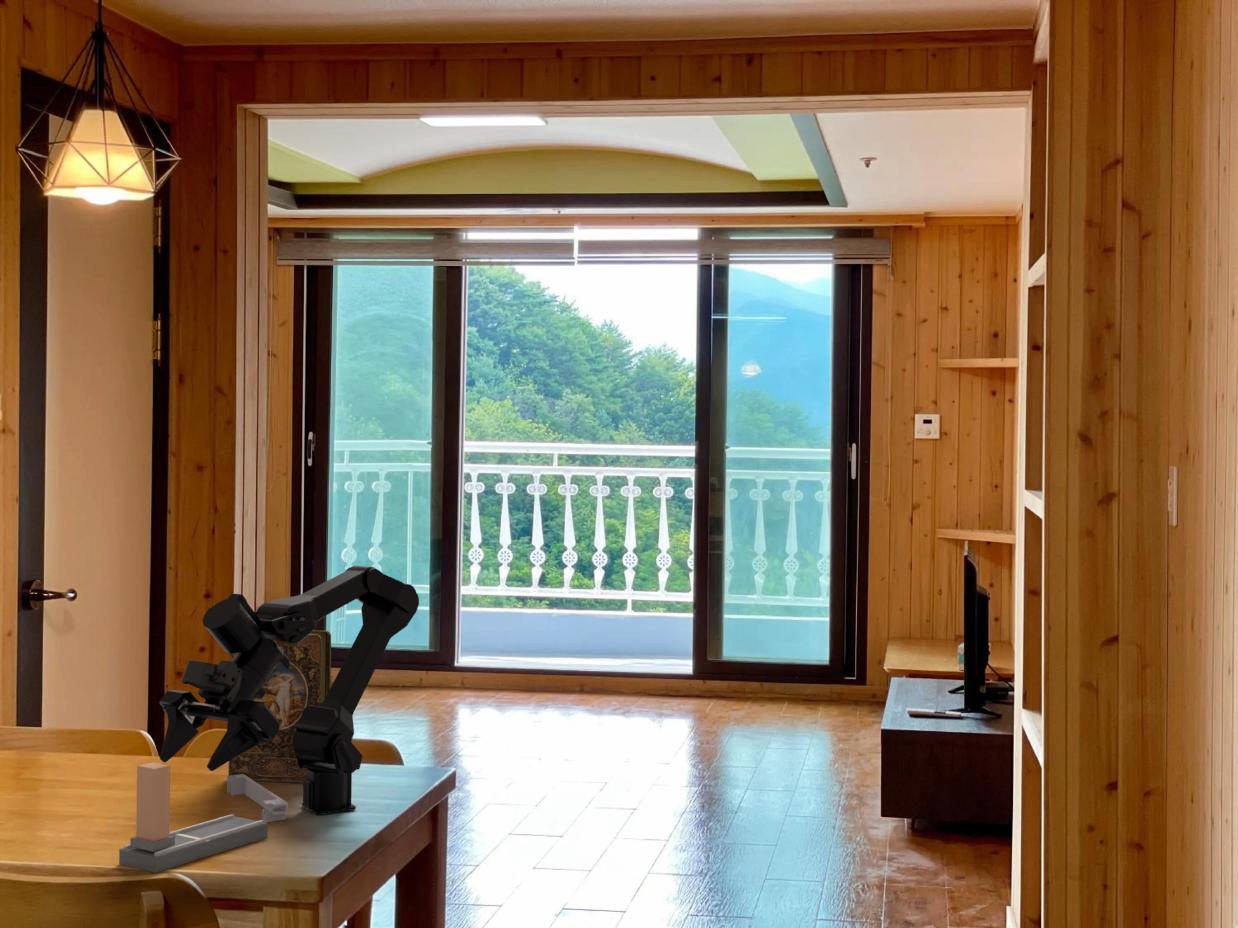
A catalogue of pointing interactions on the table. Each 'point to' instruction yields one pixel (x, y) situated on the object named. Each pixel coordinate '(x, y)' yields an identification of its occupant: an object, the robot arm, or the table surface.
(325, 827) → the table surface
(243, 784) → the door handle
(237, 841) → the grey slider rail base
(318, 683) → the book
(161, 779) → the fader
